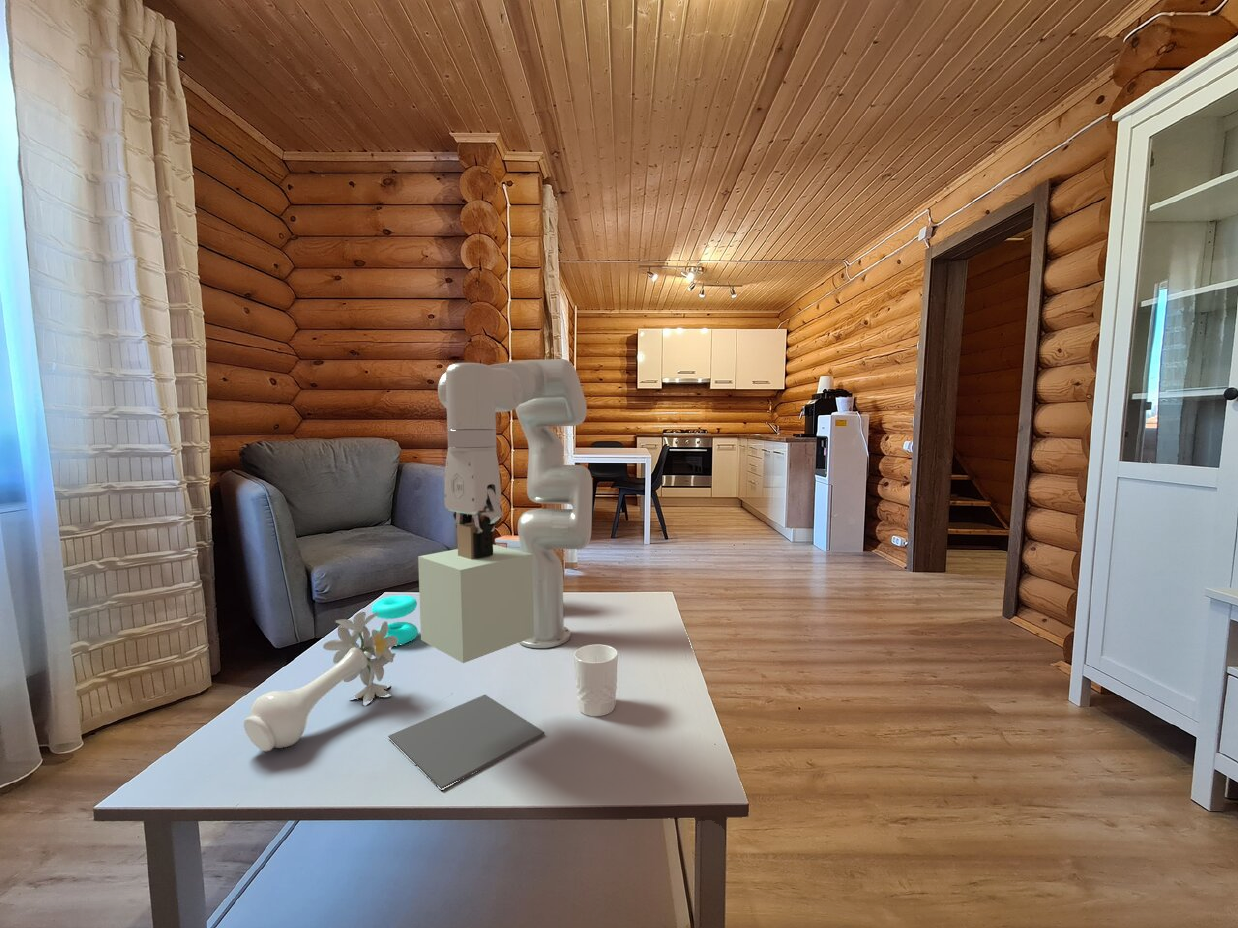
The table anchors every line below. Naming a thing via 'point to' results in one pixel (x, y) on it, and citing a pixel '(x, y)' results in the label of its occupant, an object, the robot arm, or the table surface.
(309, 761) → the table surface
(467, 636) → the pale green block
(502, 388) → the robot arm
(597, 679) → the white cup
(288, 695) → the flower vase
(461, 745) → the mat
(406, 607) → the donuts
